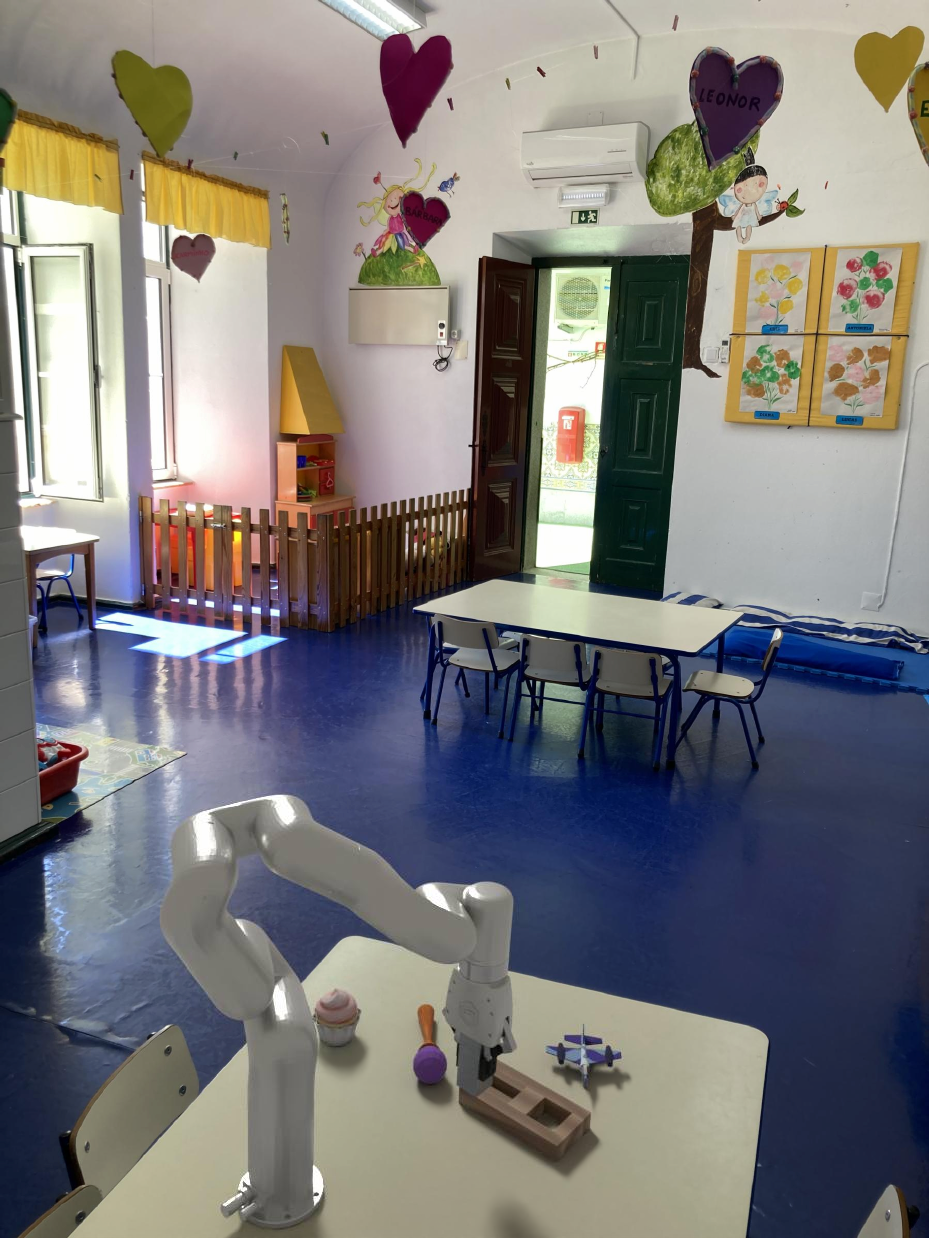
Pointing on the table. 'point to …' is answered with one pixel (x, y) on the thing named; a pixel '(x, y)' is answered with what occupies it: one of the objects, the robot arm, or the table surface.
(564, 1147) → the socket block
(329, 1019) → the cupcake
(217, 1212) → the table surface
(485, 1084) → the square peg
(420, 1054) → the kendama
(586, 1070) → the toy airplane
